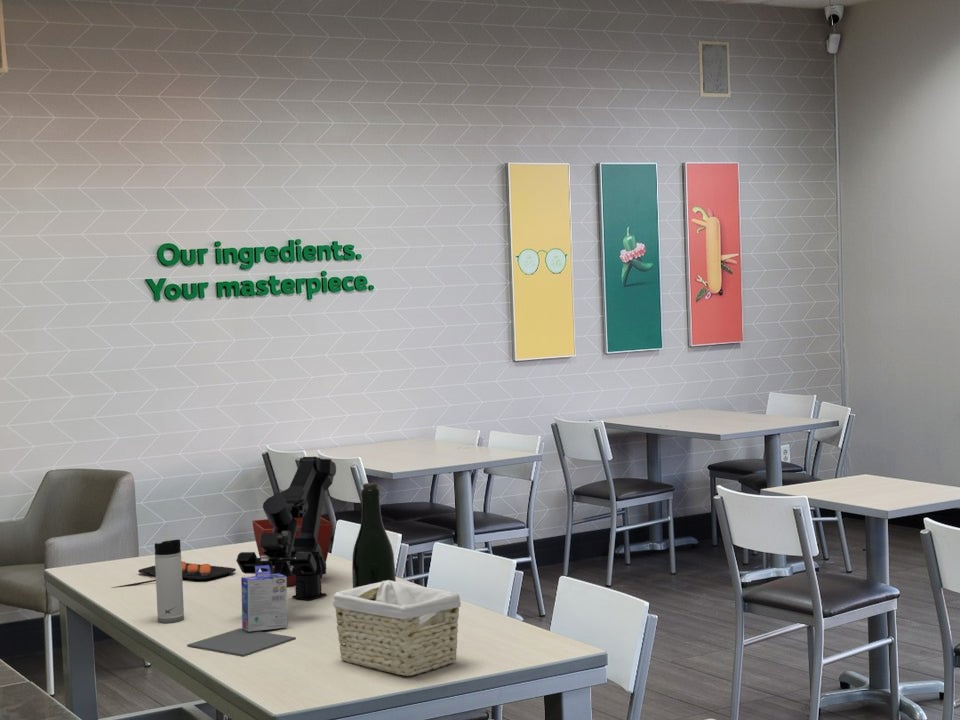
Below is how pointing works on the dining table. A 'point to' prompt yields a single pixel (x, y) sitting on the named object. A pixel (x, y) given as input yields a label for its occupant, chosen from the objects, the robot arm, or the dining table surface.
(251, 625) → the ink cartridge box
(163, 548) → the travel mug
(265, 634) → the mat
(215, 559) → the dining table surface
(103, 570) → the dining table surface
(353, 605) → the storage basket
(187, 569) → the sushi plate
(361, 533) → the green wine bottle
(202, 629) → the dining table surface
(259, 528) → the plant pot
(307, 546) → the robot arm
